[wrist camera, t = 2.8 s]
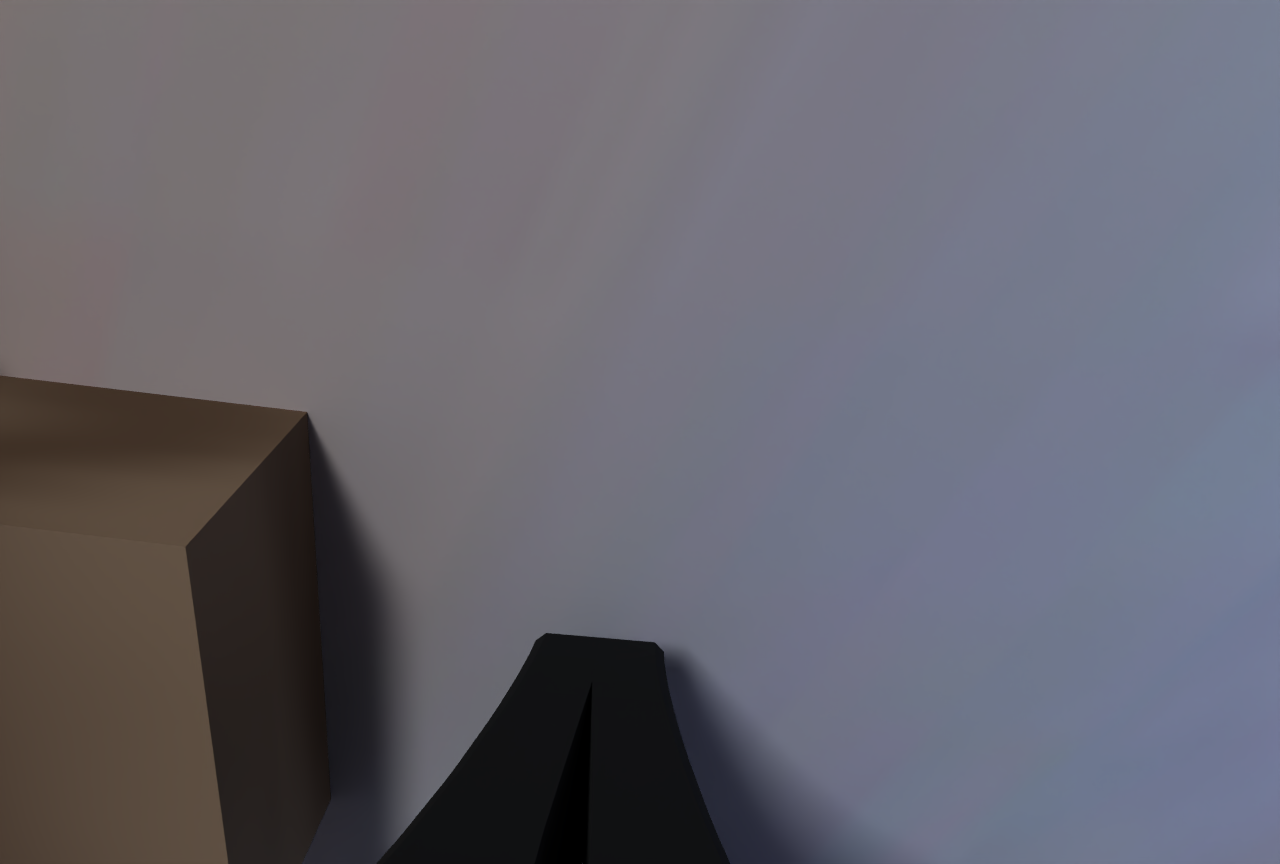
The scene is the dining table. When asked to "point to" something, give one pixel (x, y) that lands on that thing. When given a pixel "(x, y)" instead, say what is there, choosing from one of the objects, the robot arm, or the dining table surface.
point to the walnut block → (157, 630)
